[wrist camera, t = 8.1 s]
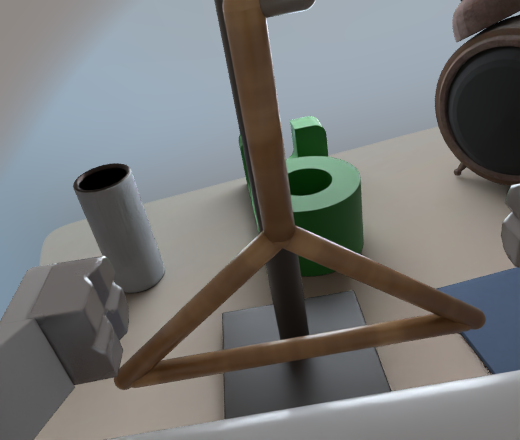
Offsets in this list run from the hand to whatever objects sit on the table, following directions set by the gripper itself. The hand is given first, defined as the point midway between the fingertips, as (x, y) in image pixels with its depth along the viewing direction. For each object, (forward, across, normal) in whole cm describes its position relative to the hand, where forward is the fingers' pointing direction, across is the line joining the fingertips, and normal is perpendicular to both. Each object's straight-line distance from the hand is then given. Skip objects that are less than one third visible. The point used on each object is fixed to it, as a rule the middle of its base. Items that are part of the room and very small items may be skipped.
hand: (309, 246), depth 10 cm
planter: (+26, +13, +20) cm, 35 cm away
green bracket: (+31, -2, +20) cm, 37 cm away
